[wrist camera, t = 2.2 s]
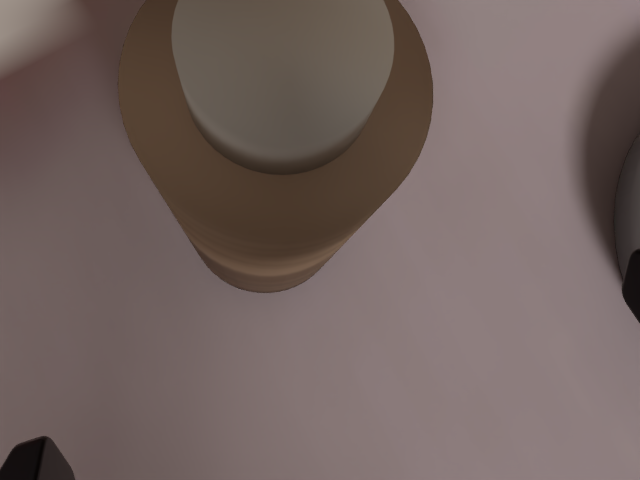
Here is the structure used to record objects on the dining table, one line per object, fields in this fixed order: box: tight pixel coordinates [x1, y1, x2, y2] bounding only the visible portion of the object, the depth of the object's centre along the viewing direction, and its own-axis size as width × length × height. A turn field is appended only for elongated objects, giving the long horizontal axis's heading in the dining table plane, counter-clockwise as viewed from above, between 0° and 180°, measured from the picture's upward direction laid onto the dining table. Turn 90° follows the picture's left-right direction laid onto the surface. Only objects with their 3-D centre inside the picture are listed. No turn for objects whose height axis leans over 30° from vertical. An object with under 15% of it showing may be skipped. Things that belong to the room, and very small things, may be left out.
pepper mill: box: [118, 0, 433, 293], centre depth 14 cm, size 5×5×12 cm
